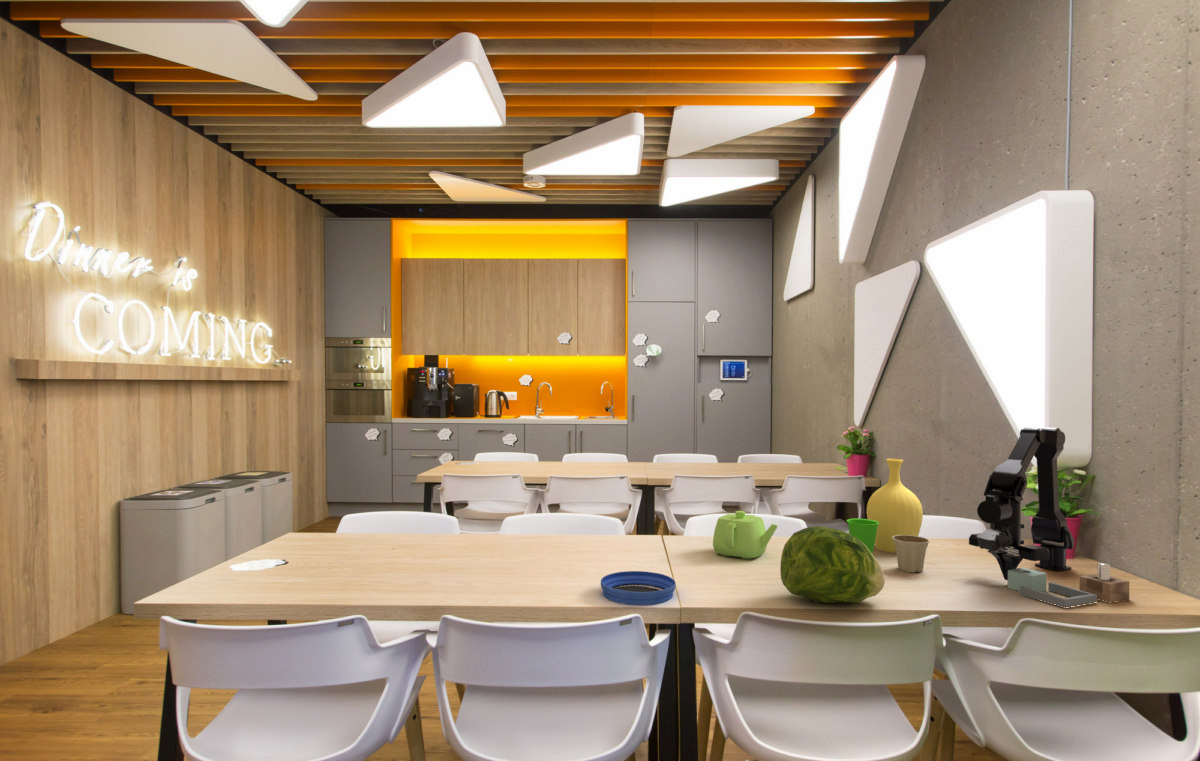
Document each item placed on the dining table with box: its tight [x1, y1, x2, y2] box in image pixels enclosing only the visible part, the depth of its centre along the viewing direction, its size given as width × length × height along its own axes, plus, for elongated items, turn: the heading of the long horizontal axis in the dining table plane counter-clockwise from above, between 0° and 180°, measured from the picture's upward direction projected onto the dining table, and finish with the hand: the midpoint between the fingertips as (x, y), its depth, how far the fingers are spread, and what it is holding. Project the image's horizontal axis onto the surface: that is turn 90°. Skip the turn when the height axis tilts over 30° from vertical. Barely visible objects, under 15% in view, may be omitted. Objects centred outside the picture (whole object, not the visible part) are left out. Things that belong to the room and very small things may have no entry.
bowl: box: [600, 570, 677, 606], centre depth 164 cm, size 18×18×4 cm
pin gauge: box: [1097, 562, 1111, 581], centre depth 164 cm, size 2×2×8 cm
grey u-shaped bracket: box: [1019, 581, 1098, 608], centre depth 162 cm, size 11×11×2 cm
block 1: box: [1007, 566, 1047, 592], centre depth 169 cm, size 6×6×5 cm
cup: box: [845, 518, 879, 556], centre depth 199 cm, size 9×9×11 cm
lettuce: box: [779, 525, 886, 604], centre depth 160 cm, size 18×23×19 cm
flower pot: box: [892, 535, 930, 573], centre depth 187 cm, size 9×9×9 cm
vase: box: [866, 458, 924, 554], centre depth 211 cm, size 16×16×28 cm
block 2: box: [1079, 573, 1130, 603], centre depth 164 cm, size 7×7×4 cm
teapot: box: [712, 510, 779, 560], centre depth 202 cm, size 18×20×13 cm
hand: (1007, 579), depth 174 cm, fingers closed
